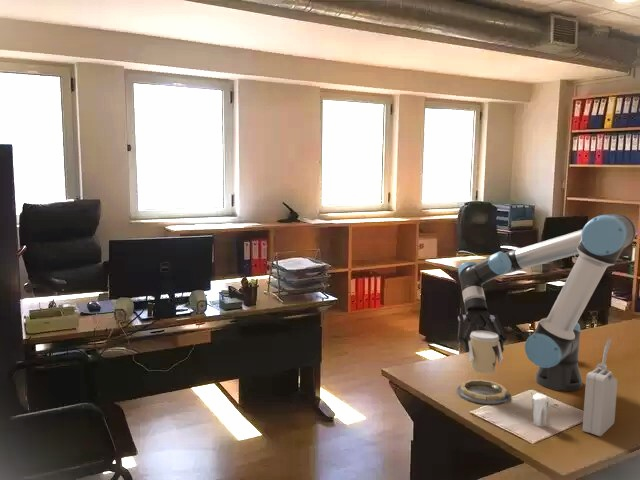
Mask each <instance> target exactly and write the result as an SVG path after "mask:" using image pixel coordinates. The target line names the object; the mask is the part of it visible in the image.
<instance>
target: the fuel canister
mask: <svg viewBox="0 0 640 480" xmlns="http://www.w3.org/2000/svg"><path fill="white" fill-rule="evenodd" d="M611 341H612V338H608V337H607V339H606V342H605V345H604V349H603V355H602V359H601V362H598V364H597V365H595V369H593V370H592V371H589V372H588V373H587V374H586V376H585V377H586V378H585V390H584V404H583V418H582V432H585V433H589V434H592V435H594V436H597V437H602V436H603V435H604V434H605V432H607V431H608V430H609V429H610V428H611V427H612V426H613V425H614V424H615V419H616V406H617V393H618V379H617V377H614V375H613V371H610V370H609V369H608V366H607V365H608V364H607V358H608V352H609V350H610V345H611Z"/></svg>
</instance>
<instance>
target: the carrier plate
mask: <svg viewBox="0 0 640 480" xmlns="http://www.w3.org/2000/svg"><path fill="white" fill-rule="evenodd" d="M456 393H457V395H458V396H459V397H460V398H462V399H463V400H465V401H468V402H471V403H474V404H478V405H487V406H494V405H502V404H505V403H508V402H509V401H510V398H511V394H510V393H509V391H508V390H507V388H506V387H505V386H504V385H502V384H500V383H498V382H495V381H492V380H486V379H468V380H465V381H463V382H462V383H461V384H460V385H459V386H457V389H456Z"/></svg>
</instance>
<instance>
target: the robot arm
mask: <svg viewBox="0 0 640 480" xmlns="http://www.w3.org/2000/svg"><path fill="white" fill-rule="evenodd" d="M636 235H637V231H636V225H635V223H634V222H633V221H632V219H631V218H629V216H626V215H625V214H622V213H609V214H602V215H600V214H599V215H597V216H595V217H593V218H591V219H590V220H589V221H587V223H585V225H584V226H583V228H582V229H578V230H577V231H573V232H569V233H567V234H564V235H560V236H559V235H558V236H556V237H553V238H549V239H547V240H543V241H540V242H537V243H534V244H530V245H526V246H523V247H520V248H517V249H513V250H510V251H506V252H503V251H498V252H495V253H493V254H491V255H490V256H488V257H486V258H485V259H483V260H481V261H479V262H476V261H467V262H463V263H461V264H460V265H459V266H458V271H457V272H458V279H459V283H460V288H461V294H462V299H463V300H462V301H463V306H464V310H465V314H462V313H459V314H458V317H457V321H458V331H457V342H458V343H462V345H463V347H464V352H465V353H467V354H468V361H469V363H471V362H473V360H474V356H473V351H472V346H471V341H470V340H469V338H470V334H471V332H473V328H474V327H480V328H481V327H483V328H484V329H485V331H490V332H494V333H496V334H498V337H499V341H498V350H497V361H498V363H499V364H501V363H502V362H503V360H504V357H503V352H504V350H505V349H504V343H506V341H507V339H508V337H507V334H506V333H505V330H504V328H503V326H502V324H501V322H500V320H499V315H498V314H497V313H496V314H493V315H492V314H490V312H489V310H488V306H487V301H486V295H485V292H484V286H483V285H484V284H486V283H488V282H490V281H492V280H494V279H496V278H499V277H500V276H504V275H507V274H510V273H515V272H517V271H521V270H525V269H527V268H532V267H535V266H539V265H542V264H546V263H551V262H553V261H557V260H561V259H564V258H569V257H571V256H576V255H578V257H577V259H576V261H575V263H574V265H572V266H573V267H572V269H571V270H570V272H569V275H568V276H567V278H566V280H565V282H564V284H563V286H562V287H561V290H560V292H559V294H558V295H557V298H556V300H555V301H554V304H553V305H552V307H551V309H550V312H549V314H548V315H547V317H544V318H541V319H540V320H539V321H540V322H539V321H538V322H539V324H538V323H537V325H536V328H535V329H534V331H533V333H532V334H530V335H529V336H528V337H527V339H526V341H525V343H524V352H525V354H526V357H527V358H528V360H529V361H530V362H532V364H534V365H535V366H536V367H538V369H537V370H536V375H535V382H537V383H538V384H539V385H540V386H542V387H545V388H548V389H552V390H556V391H563V392H573V391H578V390H580V389H582V387H583V377H582V374H581V371H580V368H579V367H580V366H579V354H580V340H581V339H580V338H581V333H582V332H581V325H580V323H578V322H579V319H580V317H582V315H583V313H584V311H585V309H586V307H587V305H588V303H589V302H590V300H591V297H593V294H594V292H595V290H596V289H597V286H598V285H599V283H600V281H601V279H602V277H603V276H604V273H605V271H606V270H607V268H608V267H612V266H615V264H616V262H617V260H619V257H620V255H621V254H622V252H623V251H624V249H625V248H626V247H628V246H630V245H631V244H632V243H633V242H634V240H635V238H636ZM465 320H467V321H468V322H469V325H468V328H467V330H466V332H465V336H464V326H465V325H464V323H465ZM490 320H491V321H490ZM491 322H492V323H493V325H492V324H491ZM493 326H494V327H493Z"/></svg>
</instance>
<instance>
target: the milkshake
mask: <svg viewBox="0 0 640 480" xmlns="http://www.w3.org/2000/svg"><path fill="white" fill-rule="evenodd" d="M530 394H531V398H532V420H533V421H532V423H533V425H534V426H536V427H544V426H546V420H547V414H548V407H549V402H550V398H549V397H548V396H547V395H546V394H543V393H534V394H533V393H532V392H530Z"/></svg>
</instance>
